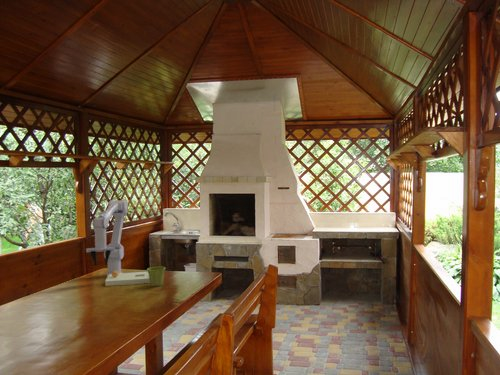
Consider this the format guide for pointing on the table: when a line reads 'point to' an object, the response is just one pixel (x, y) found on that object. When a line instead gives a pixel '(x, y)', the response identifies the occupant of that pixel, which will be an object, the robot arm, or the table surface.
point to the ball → (114, 273)
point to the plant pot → (156, 275)
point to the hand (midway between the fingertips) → (101, 265)
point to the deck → (128, 279)
